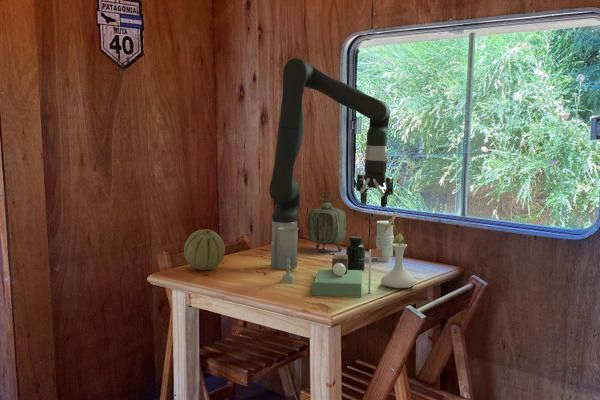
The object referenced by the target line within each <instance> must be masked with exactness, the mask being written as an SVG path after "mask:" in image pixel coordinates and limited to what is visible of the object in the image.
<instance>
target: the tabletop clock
mask: <svg viewBox="0 0 600 400" xmlns="http://www.w3.org/2000/svg"><path fill="white" fill-rule="evenodd" d="M322 194H329V195H331V196H332V198H331V199H328V198H327V197H326V198H322V197H321V196H322ZM318 197H319V199H320V200H321V201H322V203H321V205H320V207H318V208H314V209H312V210H309V213H308V216H307V225H306V226H307V237H308V240H309V241H310V242H312V243H314V244H315V243H316V245H315V247H316V249H320V247H321V246H320V245H322V248H321V249H320V250H321V252H322V253H324V252H325V251H326V249H325V246H326V245H335V246H336V247H337V251H338V252H341V251H343V250H342V247H340V246H339V244H338V243H340V242H343V241H344V240H345V238H346V234H347V217H346V212H345V211H344V210H342V209H341V208H337V207H333V205H332V203H331V202H332V201H333V200H334V199H335V195H334V194H333V192H330V191H322V192H320V193H319V195H318Z"/></svg>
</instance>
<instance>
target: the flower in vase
mask: <svg viewBox="0 0 600 400" xmlns="http://www.w3.org/2000/svg"><path fill="white" fill-rule="evenodd" d="M397 214H398V212H393V214H392V217H391V218H389V219H388V221H389V223H388V224H387V225H386V226H385V229H384V230H383V231H384V233H385V232H386V231H387V230H388V229H389V227H390V226H391V225H393V229H394V230H395V232H396V236H394V240H393V243H394V244H392V246H393V251H394V257H395V262H394V263H395V264H394V267H393V268H392V269H391V270H389V271H388V272H387V273H385V274H384V275H383V276H382V277H381V279H380V282H381V284H382V285H384V286H386V287H389V288H392V289H393V288H395V289H407V288H411V287H414V286H415V285H416V284H417V281H416V279H415V277H414V276H413V275H412V274H411V273H409V271H407V270H406V269H405V268H404V264H403V257H404V251H406V248H407V247H408V244H406V243H401V242H402V241H404V236H403V235H402V232H399V233H398V230H397V227H396V225H395V222H394V220H395V219H396V217H397ZM396 242H397V243H396Z"/></svg>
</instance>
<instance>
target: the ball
mask: <svg viewBox="0 0 600 400" xmlns="http://www.w3.org/2000/svg"><path fill="white" fill-rule="evenodd" d="M345 272H346V268H345V266H344V265H343V264H342V263H336V264H335V265H334V266H333V273H334V274H335V275H336V276H342V275H344V274H345Z"/></svg>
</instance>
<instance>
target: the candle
mask: <svg viewBox="0 0 600 400" xmlns="http://www.w3.org/2000/svg"><path fill="white" fill-rule="evenodd" d="M388 223H389V220H377V221H376V235H375V246H376V249H378V250H382V257H376V260H377V262H378V261H379V262H391V261H392V260H393V259H392V257H393V256H394V248H393V246H392V244H395V243H393V240H394V239H395V236H394V226H393V225H391V226H390V227H389V229H388V230H387V231H386V232H385V233H384V231H383V230H384V229H385V226H386V225H387V224H388Z"/></svg>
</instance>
